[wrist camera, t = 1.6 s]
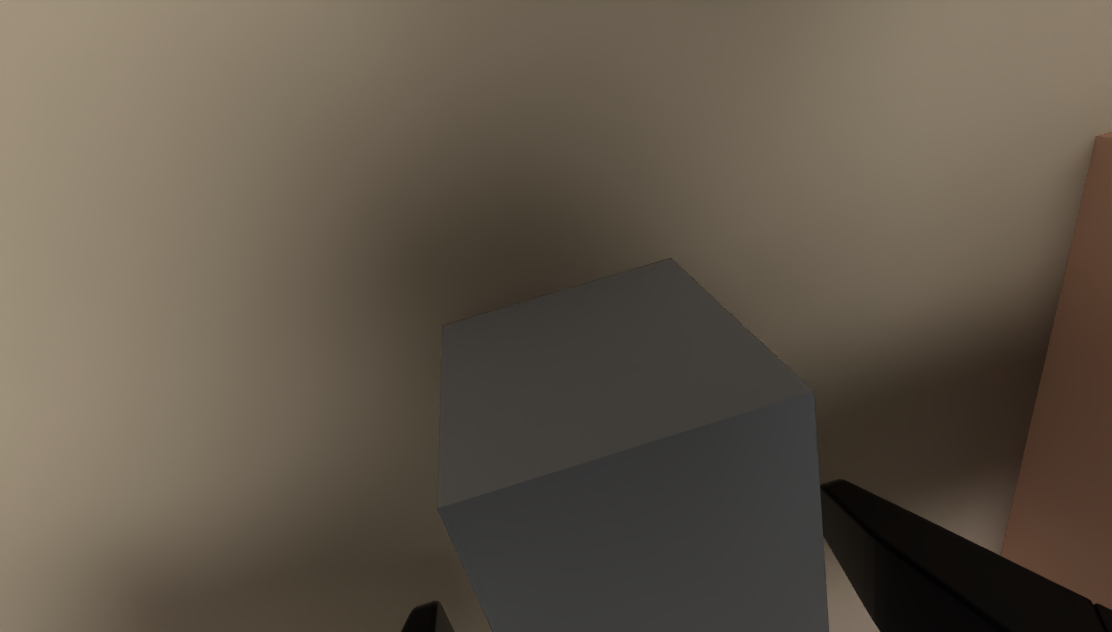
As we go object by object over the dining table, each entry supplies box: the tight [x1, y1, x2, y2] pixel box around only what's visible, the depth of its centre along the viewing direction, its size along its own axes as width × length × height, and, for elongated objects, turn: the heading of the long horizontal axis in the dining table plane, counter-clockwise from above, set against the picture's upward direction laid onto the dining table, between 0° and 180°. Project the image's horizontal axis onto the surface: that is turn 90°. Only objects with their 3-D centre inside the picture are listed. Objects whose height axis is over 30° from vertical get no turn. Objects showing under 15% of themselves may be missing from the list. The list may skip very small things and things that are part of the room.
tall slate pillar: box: [437, 258, 829, 632], centre depth 9 cm, size 9×4×4 cm, turn 14°
